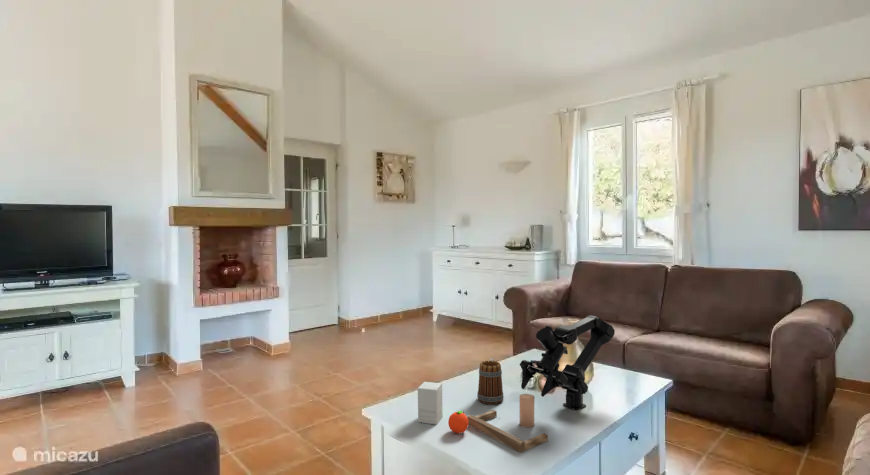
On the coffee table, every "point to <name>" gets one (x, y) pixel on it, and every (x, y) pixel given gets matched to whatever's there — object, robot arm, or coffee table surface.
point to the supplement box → (430, 403)
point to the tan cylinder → (526, 410)
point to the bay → (503, 432)
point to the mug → (490, 383)
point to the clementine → (458, 422)
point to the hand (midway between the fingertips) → (531, 392)
